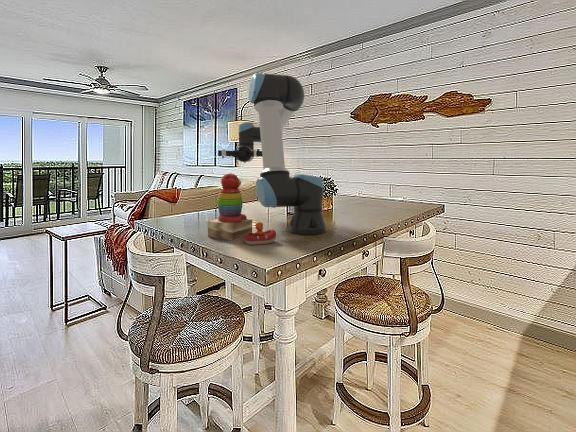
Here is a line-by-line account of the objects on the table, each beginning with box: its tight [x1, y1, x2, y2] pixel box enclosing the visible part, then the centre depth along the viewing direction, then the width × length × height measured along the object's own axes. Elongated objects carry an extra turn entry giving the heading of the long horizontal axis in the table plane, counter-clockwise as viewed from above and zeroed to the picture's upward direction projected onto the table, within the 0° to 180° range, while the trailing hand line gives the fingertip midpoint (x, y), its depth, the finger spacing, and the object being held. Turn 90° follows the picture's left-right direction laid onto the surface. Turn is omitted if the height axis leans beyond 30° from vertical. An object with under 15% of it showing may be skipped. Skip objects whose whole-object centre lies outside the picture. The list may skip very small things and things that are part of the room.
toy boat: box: [242, 221, 277, 246], centre depth 128 cm, size 8×12×8 cm, turn 111°
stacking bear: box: [217, 172, 248, 223], centre depth 136 cm, size 11×10×18 cm
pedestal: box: [207, 218, 253, 241], centre depth 138 cm, size 12×12×6 cm
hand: (238, 153), depth 152 cm, fingers open, 13 cm apart
